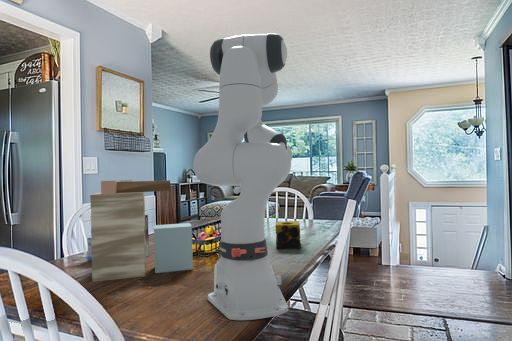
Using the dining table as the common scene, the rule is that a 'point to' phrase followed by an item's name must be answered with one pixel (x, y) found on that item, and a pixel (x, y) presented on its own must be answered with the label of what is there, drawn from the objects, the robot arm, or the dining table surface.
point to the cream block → (124, 180)
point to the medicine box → (89, 249)
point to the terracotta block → (108, 187)
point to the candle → (288, 235)
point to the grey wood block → (118, 236)
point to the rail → (143, 186)
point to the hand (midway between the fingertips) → (227, 187)
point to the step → (173, 247)
